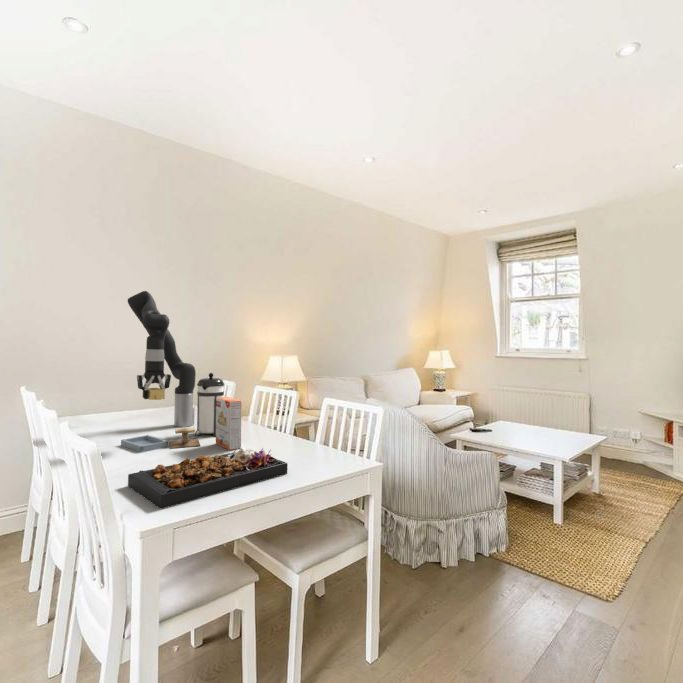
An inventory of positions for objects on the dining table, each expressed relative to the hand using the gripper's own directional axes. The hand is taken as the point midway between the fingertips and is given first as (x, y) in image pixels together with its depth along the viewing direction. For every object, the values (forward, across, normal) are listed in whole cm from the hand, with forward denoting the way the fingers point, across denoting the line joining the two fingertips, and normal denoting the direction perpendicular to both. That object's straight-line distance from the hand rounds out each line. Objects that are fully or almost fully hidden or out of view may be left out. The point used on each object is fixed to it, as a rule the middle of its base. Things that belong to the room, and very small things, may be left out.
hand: (153, 398), depth 184 cm
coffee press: (+20, +30, +6) cm, 37 cm away
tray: (+21, -2, +2) cm, 21 cm away
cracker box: (+20, +25, -21) cm, 38 cm away
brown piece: (+20, +12, -6) cm, 24 cm away
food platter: (+22, -1, -56) cm, 60 cm away
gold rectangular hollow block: (0, 0, 0) cm, 0 cm away
